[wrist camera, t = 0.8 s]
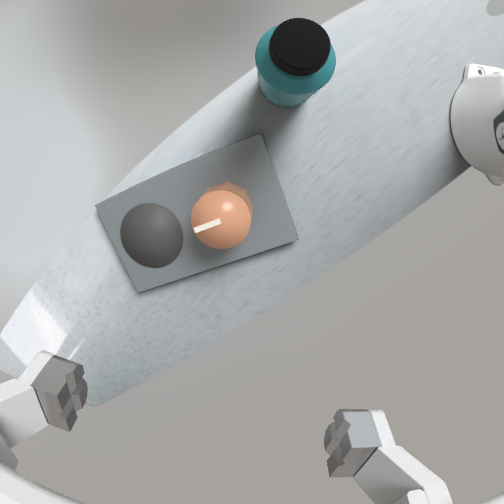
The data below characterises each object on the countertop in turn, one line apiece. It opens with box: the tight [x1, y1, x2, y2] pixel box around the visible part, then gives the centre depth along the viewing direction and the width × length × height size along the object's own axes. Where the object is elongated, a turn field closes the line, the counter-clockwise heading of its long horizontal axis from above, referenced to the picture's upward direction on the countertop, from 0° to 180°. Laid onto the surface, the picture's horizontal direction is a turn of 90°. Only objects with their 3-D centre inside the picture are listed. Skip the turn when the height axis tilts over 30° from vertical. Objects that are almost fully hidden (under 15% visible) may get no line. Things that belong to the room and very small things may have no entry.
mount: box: [95, 134, 299, 293], centre depth 39 cm, size 24×14×6 cm, turn 111°
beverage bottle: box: [255, 18, 336, 108], centre depth 26 cm, size 6×7×20 cm
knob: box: [191, 181, 253, 249], centre depth 36 cm, size 6×6×6 cm
